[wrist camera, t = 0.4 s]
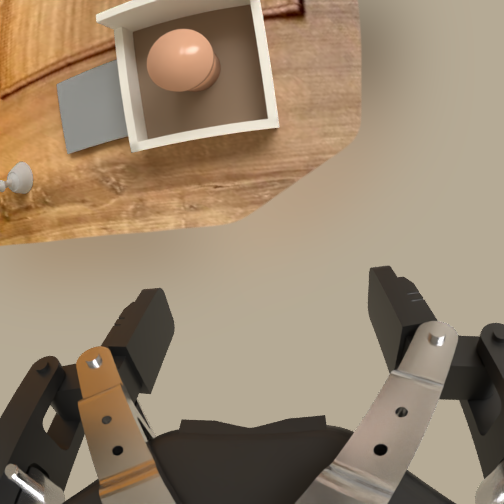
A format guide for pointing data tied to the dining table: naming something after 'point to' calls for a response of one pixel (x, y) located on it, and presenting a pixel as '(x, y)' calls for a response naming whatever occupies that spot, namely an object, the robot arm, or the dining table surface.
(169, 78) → the tan capped cylinder
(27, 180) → the chalice
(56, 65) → the dining table surface
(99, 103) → the slate tile
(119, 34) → the drawer
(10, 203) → the dining table surface
